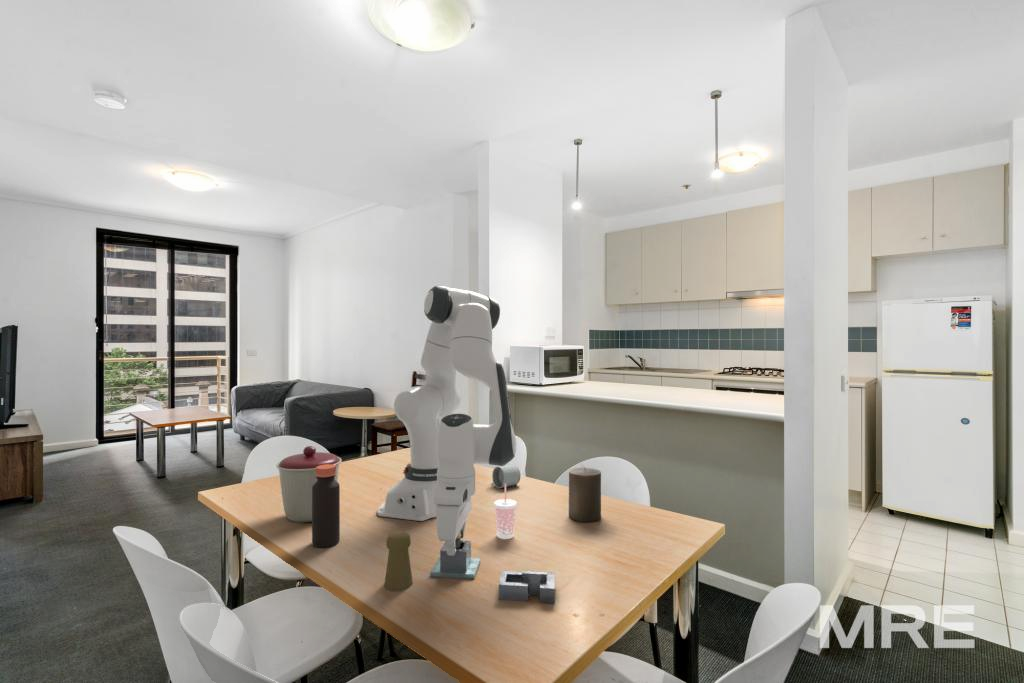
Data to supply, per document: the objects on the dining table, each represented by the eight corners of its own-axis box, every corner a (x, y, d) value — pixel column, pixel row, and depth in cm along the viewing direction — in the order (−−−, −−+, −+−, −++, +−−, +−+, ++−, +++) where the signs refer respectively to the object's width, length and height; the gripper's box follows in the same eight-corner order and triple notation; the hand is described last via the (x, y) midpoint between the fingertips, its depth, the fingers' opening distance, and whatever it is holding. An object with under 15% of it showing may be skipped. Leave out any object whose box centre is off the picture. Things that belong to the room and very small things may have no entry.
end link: (440, 570, 113) (440, 550, 113) (446, 558, 119) (446, 539, 119) (466, 571, 113) (466, 551, 113) (471, 559, 119) (471, 540, 119)
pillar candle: (600, 523, 145) (601, 471, 145) (566, 521, 147) (567, 469, 147) (601, 512, 154) (601, 464, 154) (569, 510, 156) (570, 462, 156)
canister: (266, 517, 150) (266, 446, 150) (324, 502, 163) (324, 437, 163) (292, 533, 137) (292, 456, 137) (352, 516, 151) (352, 446, 150)
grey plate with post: (430, 576, 113) (430, 536, 112) (439, 560, 120) (439, 523, 120) (474, 578, 111) (474, 538, 111) (480, 562, 119) (480, 524, 119)
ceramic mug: (522, 486, 181) (522, 465, 181) (504, 490, 176) (503, 468, 176) (504, 480, 189) (504, 460, 189) (486, 484, 184) (486, 463, 184)
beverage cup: (512, 541, 132) (512, 488, 132) (490, 538, 134) (490, 486, 134) (519, 533, 138) (519, 482, 138) (499, 530, 140) (499, 480, 140)
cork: (386, 577, 112) (386, 528, 112) (414, 576, 112) (414, 527, 112) (382, 591, 106) (382, 539, 106) (411, 590, 106) (411, 538, 106)
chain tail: (498, 600, 102) (498, 578, 102) (502, 583, 109) (502, 563, 109) (554, 603, 101) (554, 581, 101) (555, 586, 108) (555, 566, 108)
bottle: (319, 550, 126) (319, 471, 126) (307, 543, 130) (307, 466, 130) (344, 542, 131) (344, 466, 131) (331, 535, 136) (331, 462, 135)
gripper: (452, 473, 127) (452, 527, 127) (431, 499, 106) (431, 564, 106) (477, 474, 126) (477, 528, 126) (460, 500, 106) (460, 565, 106)
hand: (456, 545), depth 116 cm, fingers open, 8 cm apart
